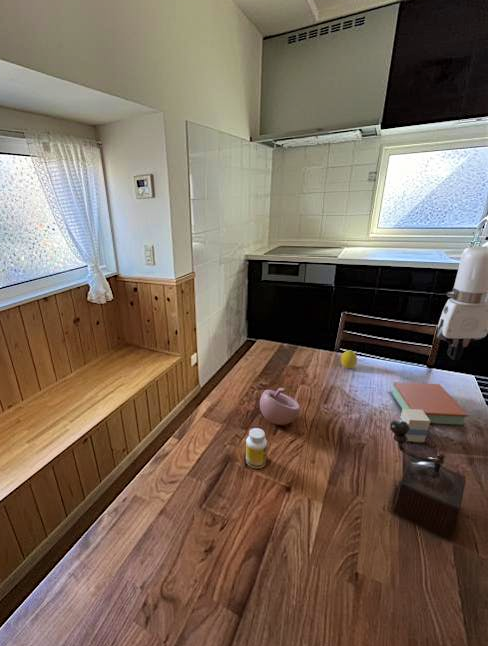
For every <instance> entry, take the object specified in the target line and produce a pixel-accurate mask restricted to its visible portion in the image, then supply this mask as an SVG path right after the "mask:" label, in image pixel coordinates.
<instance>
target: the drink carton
mask: <svg viewBox="0 0 488 646" xmlns="http://www.w3.org/2000/svg"><path fill="white" fill-rule="evenodd" d="M399 420H401V421H404V422H407V424H408V425H409V427H410V429H409V431H408V432H407V434H406V437H407V439H408V440H407V441H406V442H415V443H425V442H426V438H427V435H428V432H429V428H430V424H431V423H430V420H429V418H428V417H427V416H426V414H425V413H424V411H423V410H419V409H402V408H401V413H400V417H399Z"/></svg>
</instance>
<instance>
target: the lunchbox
mask: <svg viewBox="0 0 488 646" xmlns="http://www.w3.org/2000/svg"><path fill="white" fill-rule="evenodd" d="M391 394H392V396H393V397H394V398H395V400H396V402H397V403H398V404H399V406H400V408H401V410H402V409H410V407H409V406H408V405H407V403H406V402H405V400H404V399H403V397H402V396H401V394H400V393H399V392H398V390H397V389H396V387H395V386H394V384H392V389H391ZM426 416H427V417H428V418H429V420H430V424H443V425H445V424H446V425H458V426H459V425H461V426H462V425H463V424H464V421H465V418H466V417H457V416H438V415H426Z"/></svg>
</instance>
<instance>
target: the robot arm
mask: <svg viewBox="0 0 488 646" xmlns="http://www.w3.org/2000/svg"><path fill="white" fill-rule="evenodd" d="M446 297H447V298H448V299H447V301H446V303H445V305H444V307H443V309H442V311H441V314H440V317H439V320H438V324H437V334H435V335H436V338H437V339H438V340H441V341H445V342H447V343H448V347H447V351H446V354H447V356H448V357H449V358H450V359H451V360H453V361H455V360H457V361H460V360H461V358H462V356H463V353H464V350H465V348H467V347H468V345H469V344H471V343H472V342H473V341H478V340H482V339H484V338H485V337H486V336H487V335H488V241H487V242H486V243H484V244H483V245H479V246H478V245H477V246H475V245H474V246H470V247H467V248H465V249H464V250H463V251H462V253H461V257H460V261H459V265H458V269H457V273H456V277H455V282H454V285H453V288H452V290H451V291H447V292H446Z"/></svg>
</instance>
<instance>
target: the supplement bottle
mask: <svg viewBox="0 0 488 646" xmlns="http://www.w3.org/2000/svg"><path fill="white" fill-rule="evenodd" d="M265 435H266V433H265V431H264V430H263V429H261V428H259V427H253V428H251V429H250V430H249V431H248V436H247V438H246V440H245V463H246V464H247V465H248V466H249V467H250V468H253V469H262V468H263V467H265V465H266V464H267V451H268V441H267V439H266V436H265Z"/></svg>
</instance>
